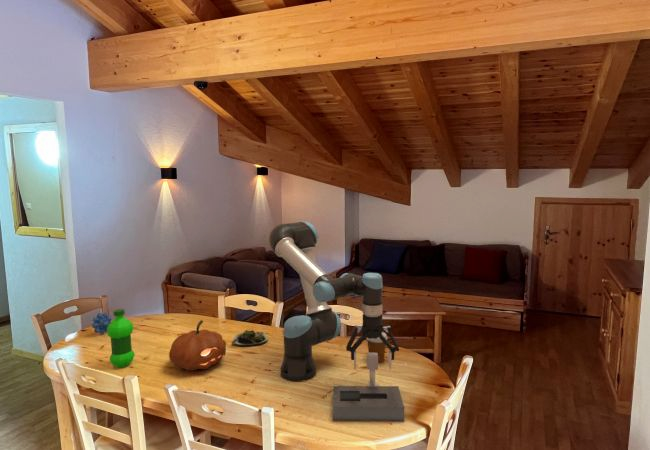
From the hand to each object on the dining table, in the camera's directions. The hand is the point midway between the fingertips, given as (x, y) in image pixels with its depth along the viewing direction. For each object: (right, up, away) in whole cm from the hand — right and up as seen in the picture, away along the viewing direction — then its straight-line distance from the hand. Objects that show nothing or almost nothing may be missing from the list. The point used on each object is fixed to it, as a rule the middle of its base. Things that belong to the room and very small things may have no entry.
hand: (372, 367), depth 160 cm
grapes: (-136, -4, +61) cm, 149 cm away
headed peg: (0, -9, +1) cm, 9 cm away
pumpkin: (-74, -7, +25) cm, 79 cm away
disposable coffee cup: (+5, -6, +27) cm, 28 cm away
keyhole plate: (-3, -10, -13) cm, 17 cm away
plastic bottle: (-108, -7, +25) cm, 111 cm away
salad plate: (-56, -4, +51) cm, 76 cm away
